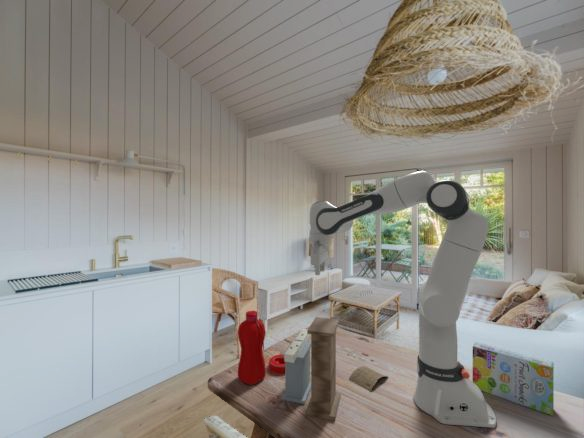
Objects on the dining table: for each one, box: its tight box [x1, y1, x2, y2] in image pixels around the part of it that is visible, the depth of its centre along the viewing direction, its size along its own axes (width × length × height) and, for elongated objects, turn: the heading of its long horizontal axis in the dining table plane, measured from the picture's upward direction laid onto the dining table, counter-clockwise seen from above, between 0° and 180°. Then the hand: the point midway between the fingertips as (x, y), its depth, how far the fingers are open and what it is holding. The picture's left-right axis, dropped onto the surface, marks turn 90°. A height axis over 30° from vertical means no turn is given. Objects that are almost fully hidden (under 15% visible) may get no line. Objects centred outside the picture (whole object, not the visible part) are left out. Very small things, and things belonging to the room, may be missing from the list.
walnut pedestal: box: [305, 316, 342, 422], centre depth 90 cm, size 9×12×26 cm
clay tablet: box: [348, 365, 388, 392], centre depth 105 cm, size 14×10×3 cm
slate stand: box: [281, 339, 311, 405], centre depth 98 cm, size 8×12×15 cm, turn 163°
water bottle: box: [237, 310, 267, 386], centre depth 105 cm, size 9×11×25 cm
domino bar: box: [283, 328, 311, 363], centre depth 98 cm, size 3×21×2 cm, turn 162°
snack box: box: [472, 341, 555, 417], centre depth 94 cm, size 21×6×15 cm, turn 46°
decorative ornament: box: [268, 354, 285, 375], centre depth 114 cm, size 10×10×3 cm
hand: (320, 272), depth 119 cm, fingers open, 8 cm apart
